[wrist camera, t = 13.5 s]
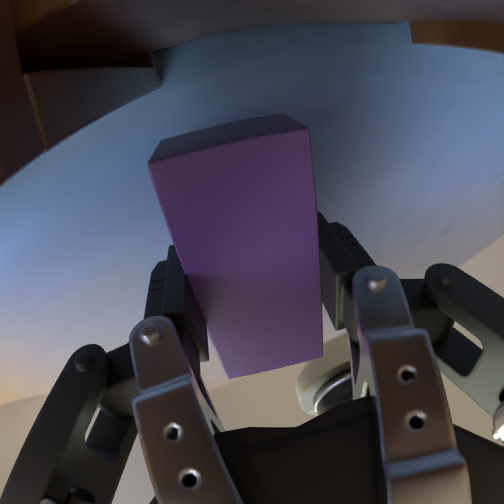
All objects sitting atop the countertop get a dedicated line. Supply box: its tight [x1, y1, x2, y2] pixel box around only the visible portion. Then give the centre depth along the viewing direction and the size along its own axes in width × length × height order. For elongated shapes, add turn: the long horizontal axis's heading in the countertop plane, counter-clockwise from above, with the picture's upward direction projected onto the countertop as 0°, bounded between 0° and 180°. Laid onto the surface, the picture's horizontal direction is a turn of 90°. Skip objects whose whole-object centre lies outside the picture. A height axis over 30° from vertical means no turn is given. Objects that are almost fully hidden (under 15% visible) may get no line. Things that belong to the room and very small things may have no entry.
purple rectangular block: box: [148, 114, 323, 379], centre depth 11 cm, size 9×4×3 cm, turn 10°
